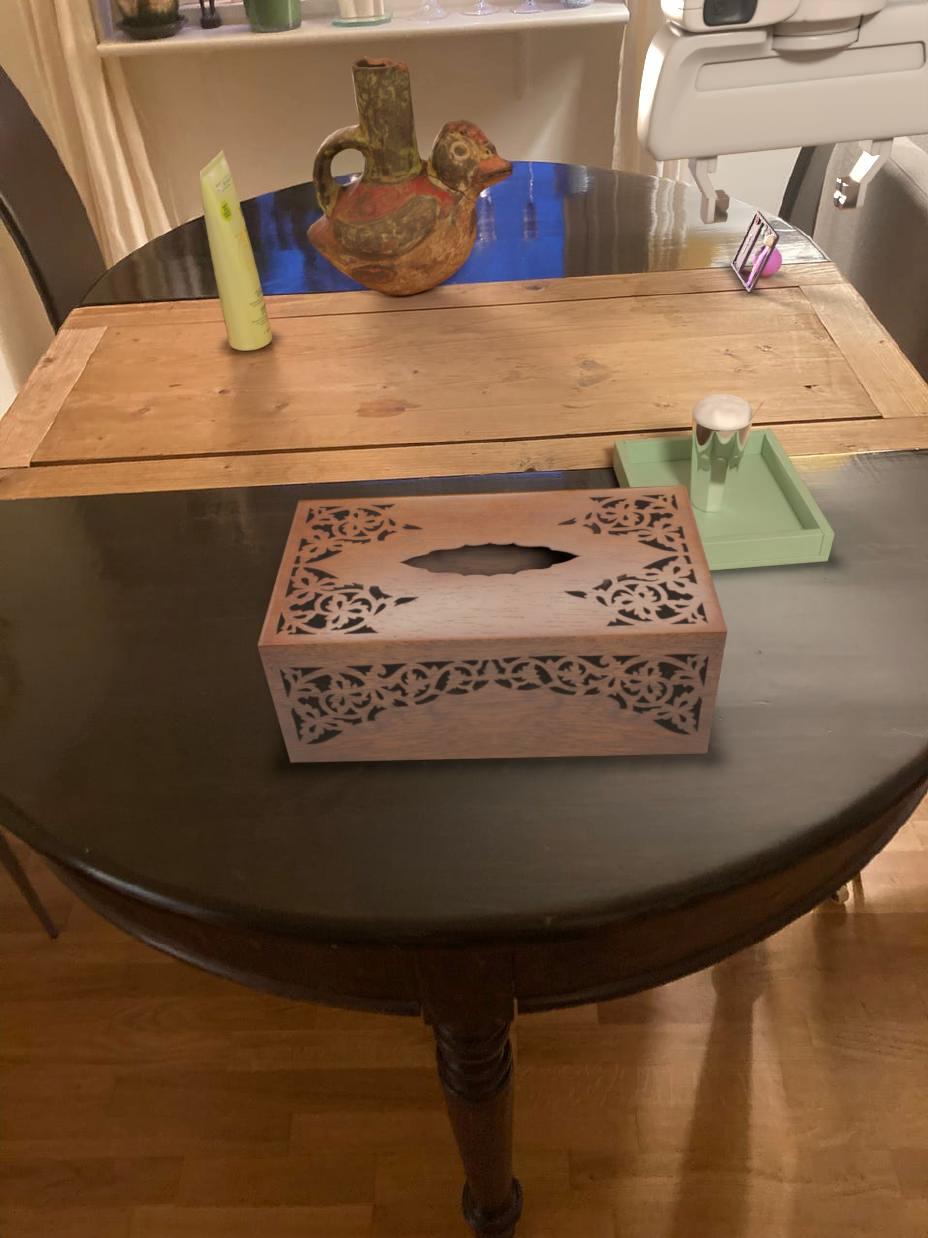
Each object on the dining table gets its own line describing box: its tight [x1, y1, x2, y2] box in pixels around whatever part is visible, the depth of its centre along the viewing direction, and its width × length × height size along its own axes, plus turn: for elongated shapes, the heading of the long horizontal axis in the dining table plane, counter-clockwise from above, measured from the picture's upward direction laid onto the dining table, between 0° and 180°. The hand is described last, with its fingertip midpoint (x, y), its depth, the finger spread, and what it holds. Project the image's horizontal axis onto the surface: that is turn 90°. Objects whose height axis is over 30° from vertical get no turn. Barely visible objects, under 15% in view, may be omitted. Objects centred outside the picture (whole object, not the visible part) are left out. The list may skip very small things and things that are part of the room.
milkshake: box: [690, 392, 766, 512], centre depth 72 cm, size 4×5×10 cm
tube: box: [199, 149, 273, 352], centre depth 99 cm, size 6×5×20 cm
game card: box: [730, 210, 783, 294], centre depth 109 cm, size 7×5×9 cm
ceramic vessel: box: [306, 55, 514, 296], centre depth 107 cm, size 17×26×25 cm, turn 80°
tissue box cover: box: [257, 485, 728, 763], centre depth 59 cm, size 26×14×10 cm, turn 89°
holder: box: [612, 428, 836, 571], centre depth 75 cm, size 14×16×3 cm
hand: (780, 214), depth 65 cm, fingers open, 8 cm apart
